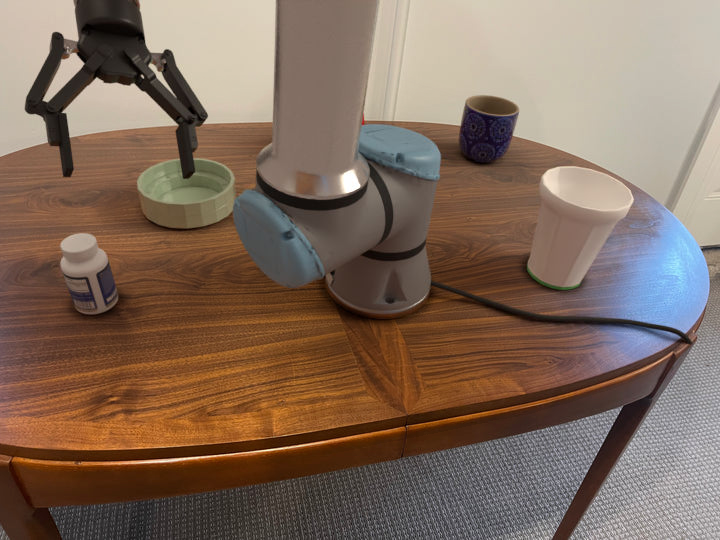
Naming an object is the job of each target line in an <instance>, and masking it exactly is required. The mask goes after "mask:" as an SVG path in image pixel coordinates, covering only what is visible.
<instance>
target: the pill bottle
mask: <svg viewBox="0 0 720 540" xmlns="http://www.w3.org/2000/svg"><path fill="white" fill-rule="evenodd" d="M59 247H60V250H61V253H62V257H61V260H60V263H59V264H60V265H59V266H60V270H61V273H62V275H63V278H64V281H65V284H66V287H67V289H68V292H69V294H70V298H71V300H72V303H73V305H74V308H75V309H76V311H78V312H79V313H81V314H83V315H89V316H91V315H99V314H102V313H105V312H107V311H109V310H110V309H112V308H113V307H114V306H115V305H116V304H117V302H118V301H119V292H118V289H117V285H116V282H115V278H114V275H113V271H112V267H111V264H110V260H109V258H108V255H107V253H106V252H105V250H103V249H102V248H100V247H99V243H98V241H97V237H95V236H94V235H93V234H91V233H87V232H86V233H85V232H82V233H81V232H79V233H75V234H71V235H69V236H67V237H65V238H64V239H63V240H61V242H60V244H59Z"/></svg>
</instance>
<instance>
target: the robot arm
mask: <svg viewBox="0 0 720 540" xmlns="http://www.w3.org/2000/svg"><path fill="white" fill-rule="evenodd" d="M72 2H73V5H74V16H75V17H74V18H75V23H76V31H77V38H78V40H77V41H76V40H73V39H68V38H65V37H64V35H63V33H61V32H59V31H54V32H52V33H51V37H50V42H49V53H48V54H47V56H46V58H45V60H44V62H43V64H42V66H41V68H40V70H39V72H38V74H37V75H36V77H35V80H34V81H33V83H32V85H31V87H30V89H29V91H28V93H27V95H26V97H25V102H24V111H25V113H27V114H28V115H37V116H39V117H41V118H42V119H43V122H44V125H45V130H46V138H47V139H46V140H47V143H48V145H49V146H50V147H58V149H59V157H60V163H61V164H60V165H61V171H62V172H61V173H62V178H71V177H72V175H73V173H74V170H75V165H74V159H73V151H72V145H71V144H72V143H71V139H70V130H69V121H68V116H67V115H68V114H67V112H64V111H65V110H66V109H67V108H68V107H69V106H70V105H71V104H72V102H73V101H74V100H75V99H76V98H77V97H79V96H80V94H81V93H83V91H84V90H85V89H86V88H87V87H88V86H90V85H91V84H92V83H93V82H94V81H95V80H96V79H98V80H100V81H102V83H103V84H110V85H112V84H120V85H121V86H122V85H123V86H129V87H130V86H132V85H133V84H134V85H135V87H137V88H138V89H139V90H140V91H141V92H144V93H146V94H147V95H148V97H150V99H152V100H153V101H154V102H155V103H156V104H157V106H158V107H160V108H161V110H163V111H164V113H166V114H167V115H168V116H169V118H170V119H171V120H173V121H174V123H176V125H177V126H178V127H176V129H175V131H174V132H175V137H176V144H177V150H178V155H179V156H178V157H179V159H180V163H181V169H182V176H183V179H189V178H190V177H191V176H192V175H193V174H194V173H195V172H196V171H195V165H194V159H193V158H194V154H193V153H195V152H196V151H197V149H198V148H199V141H198V136H197V135H198V134H197V130H196V129H197V128H199V127H202V126H203V125H204V123H206V120H207V119H208V118H209V114H208V112H207V110H206V109H205V107H204V106H203V104H202V103H201V101H200V100H199V98H198V96H197V95H196V94H195V92H194V90H193V89H192V87H191V86H190V84H189V83H188V81H187V80H186V78H185V76H184V75H183V73H182V72H181V70H180V69H179V67H178V66H177V62H176V59H175V55H174V52H173V51H172V50H171V49H169V48H166V49H164V50H163V52H151V51H150V50H149V48H148V47H147V44H146V36H145V29H144V23H143V16H142V12H141V3H140V0H72ZM380 2H381V0H275V9H274V11H275V13H274V14H275V15H274V49H273V51H274V52H273V87H272V88H273V90H272V91H273V92H272V93H273V94H272V96H273V97H272V127H271V130H272V133H271V142H270V143H269V144H267V145H265V146H264V147H263V148H262V149H261V150H260V152H259V153H258V154H257V157H256V163H255V164H256V167H255V168H256V170H255V174H256V175H255V187H254V188H251V189H250V188H249V189H244V190H243V191H242V193H240V194H239V195H238V196H236V199H235V201H234V204H233V211H232V217H233V222H234V223H233V224H234V226H235V230H236V233H237V234H238V237H239V240H240V242H241V243H242V246H243V247H244V249H245V250H246V252H247V254H248V256H249V257H250V259H251V260H252V262H253V263H254V264H255V265H256V266H257V268H259V270H260V271H261V273H263V274H264V275H265V276H266V277H268V278H269V279H270V280H271V281H273V282H274V283H276V284H277V285H279V286H282V287H284V288H287V289H295V288H296V289H297V288H302V287H304V286H306V285H309V284H310V283H312V282H314V281H320V280H321V279H323V278H324V277H325V283H324V284H325V287H326V291H327V293H328V295H329V296H330V298H331V299H332V300H333V301H334V302H335V303H336V304H337V305H338V306H340V307H341V308H342V309H344V310H346V311H347V312H350V313H351V314H354V315H357V316H360V317H364V318H367V319H375V320H391V319H392V320H393V319H399V318H404V317H406V316H409V315H411V314H413V313H415V312H417V311H418V310H420V309H421V308H422V307H423V306H424V305H425V304H426V302H427V301H428V299H429V296H430V293H431V289H432V288H431V287H434V288H437V289H440V290H443V291H447V292H450V293H452V294H455V295H458V296H461V297H464V298H467V299H470V300H472V301H475V302H478V303H481V304H484V305H487V306H490V307H493V308H496V309H499V310H501V311H504V312H508V313H511V314H514V315H518V316H522V317H526V318H531V319H535V320H540V321H551V322H581V323H582V322H585V323H597V324H598V323H599V324H617V325H626V326H627V325H628V326H635V327H641V328H646V329H650V330H651V329H652V330H656V331H662V332H667V333H671V334H673V335H677V336H678V337H680V338H681V339H682V340H683V341H684V342H685V343H686V344H687V345H693V344H694V343H693V340H692V339H691V338H690V337H689V336H688V335H687V333H685V332H683V331H682V330H680V329H678V328H676V327H675V328H674V327H671V326H668V325H662V324H657V323H656V324H655V323H650V322H645V321H639V320H634V319H627V318H618V317H617V318H616V317H615V318H614V317H598V316H597V317H595V316H583V315H582V316H581V315H580V316H579V315H548V314H541V313H535V312H530V311H526V310H521V309H518V308H514V307H511V306H508V305H505V304H502V303H499V302H496V301H493V300H490V299H488V298H485V297H481V296H479V295H476V294H472V293H470V292H467V291H464V290H461V289H459V288H456V287H452V286H450V285H446V284H444V283H441V282H437V281H435V280H432V273H431V269H430V262H429V258H428V252H427V248H426V244H427V238H428V234H429V230H430V229H429V228H430V223H431V217H432V213H433V208H434V203H435V199H436V198H435V197H436V193H437V187H438V183H439V180H440V178H441V174H440V169H441V162H442V160H441V159H442V154H441V152H440V150H439V148H438V146H437V144H436V143H435V142H434V141H432V140H431V139H430V138H429V137H427V136H425V135H423V134H421V133H419V132H417V131H414V130H411V129H409V128H404V127H401V126H396V125H391V124H390V125H389V124H383V123H367V124H365V125H362V120H363V113H364V112H365V106H366V98H367V92H368V85H369V78H370V72H371V71H370V70H371V63H372V58H373V50H374V43H375V37H376V30H377V23H378V15H379V9H380ZM72 54H76V56H77V57H78V58H79V59H80V61H81V62H82V63H83V65H82V67H81V68H80V69H79V70H78V71H77V72H76V73H75V74H74V75H73V76H72V77H71V78H70V79H69V80H68V81H67V82H66V83H65V84H64V85H63V86H62V87H61V88H60V89H59V90H58V91H57V92H56V93H55V94H54V95H53V96H52V97H51V98H50V100H48V101H45V100H44V99H45V98H46V97H45V96H46V95H47V93H48V91H49V88H50V87H51V85H52V83H53V81H54V79H55V77H56V75H57V73H58V71H59V69H60V67H61V63H62V60H63V61H64V60H67V59H69V58H70V56H71V55H72ZM150 64H151V65H153V66H154V67H155V69H156V71H157V72H158V73H161V75H162V78H163V79H164V81H165V82H166V85H167V86H168V87H169V88H168V87H166V86H165V84H164V83H162V81H160V80H159V78H158V77H157V74H156V72H155V71H154V70H153V69H152V68H151V67H150ZM169 89H170V90H171V91H170V90H169ZM364 114H365V113H364Z"/></svg>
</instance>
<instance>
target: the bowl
mask: <svg viewBox="0 0 720 540" xmlns="http://www.w3.org/2000/svg"><path fill="white" fill-rule="evenodd" d="M193 159H194V165H195V171H196V172H195V173H194V174H193V175H192V176H191V177H190V178H189V179H183V176H182V169H181V163H180V158H174V159H169V160H165V161H161V162H158V163H156V164H154V165H152V166H149V167H148V168H146V169H145V170H144V171H143V172H140V175H139V176H138V177H137V179H136V189H137V194H138V198H139V204H140V207H141V212H142V214H143V215H144V216H145V217H146V218H147V220H149V221H151V222H152V223H154V224H156V225H158V226H161V227H166V228H169V229H185V230H186V229H193V228H195V229H196V228H202V227H206V226H208V225H209V226H210V225H212V224H215V223H218V222H220V221H222V220H224V219H225V218H227V217H228V216H230V215H231V213H233V204H234V201H235V199H236V198H237V189H236V178H235V175H234V172H233V171H232V170H231V169H230V168H229V167H228V166H227V165H225V164H224V163H221V162H219V161H216V160H212V159H207V158H201V157H196V158H195V157H193Z"/></svg>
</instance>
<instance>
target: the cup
mask: <svg viewBox="0 0 720 540" xmlns="http://www.w3.org/2000/svg"><path fill="white" fill-rule="evenodd" d="M538 191H539V197H540V200H541V201H540V206H539V210H538V215H537V216H538V217H537V221H536V225H535V231H534V235H533V241H532V244H531V249H530V254H529V258H528V260H527V264H526V270H527V273H528V274H529V275H530V276H531V278H532V279H534V281H536V282H537V283H539V284H540V285H542V286H545V287H547V288H550V289H554V290H558V291H559V290H560V291H567V290H573V289H576V288H578V287H580V285H581V284H582V283H581V282H582V281H583V279H584V277H585V276H586V274H587V272H588V271H589V269H590V268H591V267H592V264H593V263H594V261H595V260H596V259H597V256H598V255H599V253H600V252H601V250H602V248H603V246H604V244H605V243H606V241H607V240H608V238H609V236H610V235H611V233H612V232H613V230H614V228H615V227H616V225H617V223H618V222H619V221H622V220H623V219H624V218H626V216H627V215H628V213H629V211H630V209H631V206H632V205H633V203H634V201H635V199H634V196H633V194H632V190H631V189H630V188H628V187H627V186H626V185H625V184H624V183H623V182H622V181H621V180H618V179H616V178H615V177H612V176H611V175H609V174H607V173H605V172H601V171H598V170H595V169H591V168H588V167H587V168H586V167H580V166H576V165H569V166H567V165H566V166H556V167H553V168H550V169H547V170H546V171H545V172H544V173H543V174H542V176H541V178H540V182H539V184H538Z"/></svg>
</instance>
